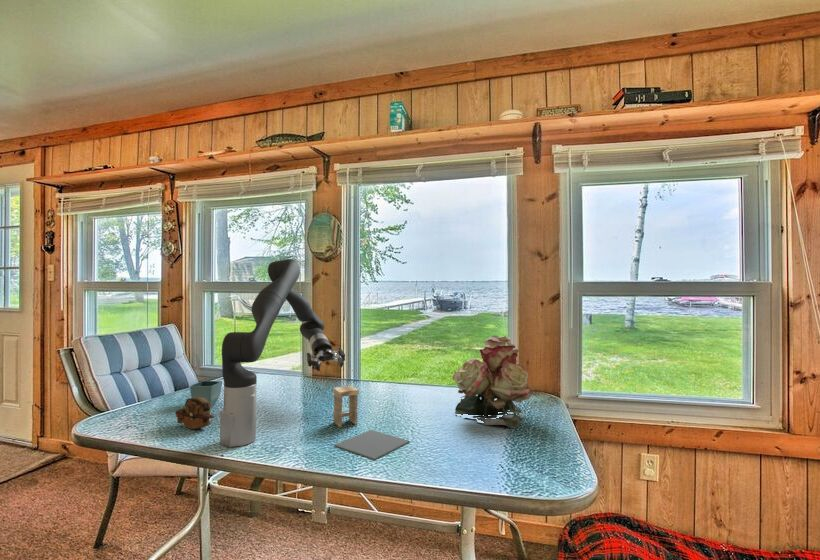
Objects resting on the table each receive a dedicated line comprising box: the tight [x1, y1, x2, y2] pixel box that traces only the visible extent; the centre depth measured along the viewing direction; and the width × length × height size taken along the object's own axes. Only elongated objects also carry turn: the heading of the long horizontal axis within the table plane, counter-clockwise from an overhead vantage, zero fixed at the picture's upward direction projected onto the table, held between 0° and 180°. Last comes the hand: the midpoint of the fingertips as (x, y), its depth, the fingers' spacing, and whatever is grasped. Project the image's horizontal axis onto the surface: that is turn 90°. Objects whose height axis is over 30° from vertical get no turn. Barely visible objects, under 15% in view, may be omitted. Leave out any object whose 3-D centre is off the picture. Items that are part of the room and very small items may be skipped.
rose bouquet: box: [451, 335, 533, 430], centre depth 144 cm, size 26×29×30 cm
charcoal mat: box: [334, 429, 411, 461], centre depth 117 cm, size 16×16×1 cm
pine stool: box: [332, 385, 360, 429], centre depth 135 cm, size 7×7×12 cm
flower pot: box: [189, 380, 223, 407], centre depth 156 cm, size 9×9×9 cm
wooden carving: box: [175, 397, 215, 430], centre depth 130 cm, size 16×5×10 cm, turn 70°
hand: (330, 367), depth 145 cm, fingers open, 8 cm apart
